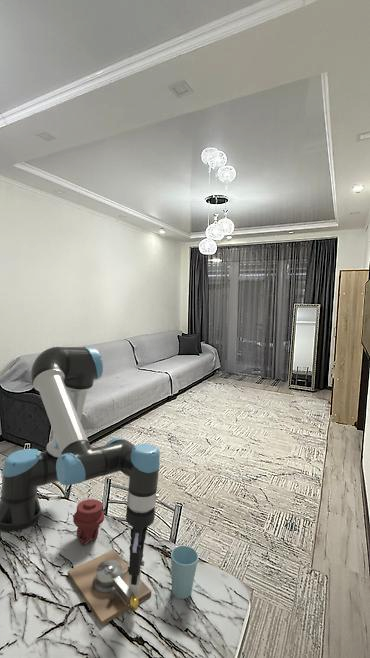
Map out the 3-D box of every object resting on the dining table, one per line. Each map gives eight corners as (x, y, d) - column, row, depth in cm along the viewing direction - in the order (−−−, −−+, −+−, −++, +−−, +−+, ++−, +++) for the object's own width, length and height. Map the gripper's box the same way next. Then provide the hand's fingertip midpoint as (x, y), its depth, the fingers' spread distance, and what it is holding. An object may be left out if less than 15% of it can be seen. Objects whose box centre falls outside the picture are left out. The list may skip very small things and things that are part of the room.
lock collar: (113, 564, 97) (114, 554, 97) (147, 604, 85) (148, 592, 85) (91, 575, 92) (92, 564, 92) (124, 619, 80) (125, 606, 80)
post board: (67, 574, 94) (68, 561, 94) (113, 553, 105) (114, 540, 104) (101, 626, 80) (103, 610, 80) (151, 595, 90) (152, 580, 90)
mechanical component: (107, 532, 114) (93, 552, 104) (81, 526, 116) (65, 545, 106) (110, 497, 114) (97, 514, 104) (83, 492, 116) (68, 507, 106)
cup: (187, 607, 87) (191, 569, 87) (162, 594, 91) (166, 557, 90) (199, 588, 94) (202, 552, 94) (175, 576, 97) (178, 542, 97)
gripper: (152, 522, 80) (143, 615, 81) (158, 493, 93) (151, 574, 94) (121, 518, 80) (113, 612, 81) (132, 491, 93) (125, 571, 94)
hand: (133, 592), depth 87 cm, fingers closed
